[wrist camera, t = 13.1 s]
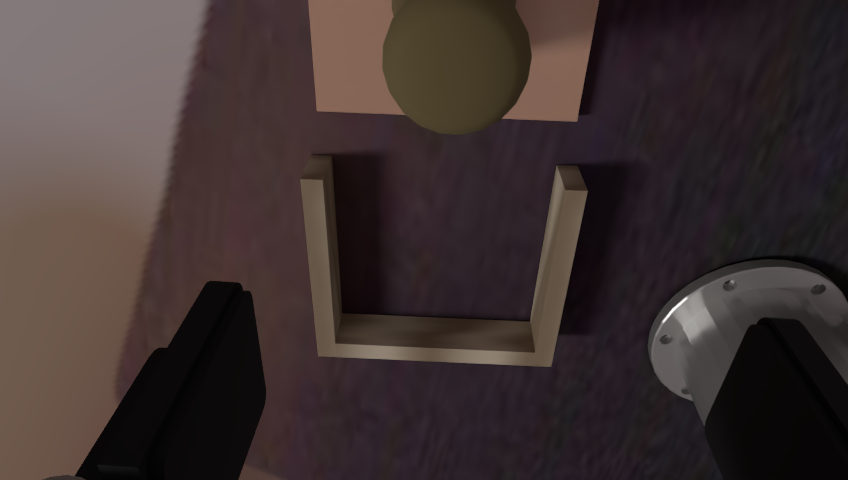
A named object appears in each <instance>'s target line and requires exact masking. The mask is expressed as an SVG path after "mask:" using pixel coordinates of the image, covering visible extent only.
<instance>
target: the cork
mask: <svg viewBox="0 0 848 480" xmlns="http://www.w3.org/2000/svg"><path fill="white" fill-rule="evenodd" d="M515 6H516V0H392V12H393V16H394V17H393V18H392V21H391V24H390V27H389V29H388V32H387V35H386V38H385V41H384V44H383V62H382V69H383V73H384V76H385V79H386V83H387V86H388V90H389V92H390V94H391V95H392V97H393V98H394V100H395V101H396V103H397V104H398V106H399V107H400V109H401V110H402V112H403V113H404V114H406V115H407V116H408V117H409V118H411V119H412V120H413V121H414V122H416V123H417V124H418V125H420V126H422V127H424V128H427V129H430V130H432V131H435V132H437V133H442V134H456V135H463V134H467V133H472V132H476V131H481V130H483V129H485V128H487V127H488V126H490V125H492V124H494V123H496V122H497V121H499V120H501V119H502V118H503V117H504V116H505V115H506V114H507V113H508V112H509V111H510V110H511V109H512V108H513V106H514V105H515V104H516V103H517V101H518V99H519V97H520V95H521V93H522V91H523V89H524V87H525V85H526V83H527V81H528V77H529V71H530V65H531V59H532V53H531V47H530V40H529V34H528V31H527V29H526V27H525V25H524V23H523V21H522V19H521V17H520V16H519V14H518V12H517V10H516V8H515Z"/></svg>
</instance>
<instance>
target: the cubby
mask: <svg viewBox="0 0 848 480" xmlns="http://www.w3.org/2000/svg"><path fill="white" fill-rule="evenodd" d="M300 180H301V190H302V200H303V210H304V220H305V230H306V240H307V250H308V260H309V270H310V280H311V290H312V300H313V310H314V320H315V330H316V339H317V349H318V356H327V357H349V358H371V359H392V360H414V361H436V362H458V363H480V364H501V365H523V366H545V367H551V364H552V360H553V355H554V350H555V345H556V340H557V336H558V331H559V326H560V321H561V317H562V312H563V307H564V302H565V298H566V293H567V288H568V283H569V278H570V274H571V269H572V264H573V259H574V255H575V250H576V245H577V240H578V236H579V231H580V226H581V221H582V216H583V212H584V207H585V202H586V197H587V193H588V190H587V188H586V185H585V183H584V180H583V178H582V176H581V173H580V171H579V168H578V166H570V165H557V166H556V172H555V178H554V183H553V189H552V195H551V201H550V207H549V213H548V219H547V224H546V230H545V236H544V242H543V248H542V254H541V259H540V265H539V271H538V277H537V283H536V289H535V295H534V300H533V306H532V312H531V318H530V322H525V321H503V320H481V319H458V318H436V317H414V316H391V315H369V314H347V313H342V303H341V287H340V272H339V257H338V241H337V226H336V211H335V195H334V180H333V165H332V156H327V155H311V157H310V159H309V161H308V163H307V166H306V168H305V170H304V172H303V174H302V177H301V179H300Z"/></svg>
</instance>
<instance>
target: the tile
mask: <svg viewBox="0 0 848 480" xmlns="http://www.w3.org/2000/svg"><path fill="white" fill-rule="evenodd" d="M308 2H309V15H310V28H311V41H312V54H313V67H314V80H315V93H316V106H317V111H325V112H350V113H375V114H400V115H406V114H404V113H403V112H402V110H401V109H400V107H399V106H398V104H397V103H396V101H395V100H394V98H393V97H392V95H391V94H390V92H389V90H388V86H387V83H386V79H385V76H384V73H383V69H382V62H383V44H384V41H385V38H386V35H387V32H388V29H389V27H390V24H391V21H392V18H393V17H394V16H393V12H392V0H308ZM598 4H599V0H516V6H515V8H516V10H517V12H518V14H519V16H520V17H521V19H522V21H523V23H524V25H525V27H526V29H527V31H528V34H529V40H530V47H531V53H532V59H531V65H530V71H529V77H528V81H527V83H526V85H525V87H524V89H523V91H522V93H521V95H520V97H519V99H518V101H517V103H516V104H515V105H514V106H513V108H512V109H511V110H510V111H509V112H508V113H507V114H506V115H505V116H504V117H503V118H502V119H525V120H550V121H574V122H577V118H578V113H579V108H580V102H581V97H582V91H583V86H584V80H585V75H586V69H587V64H588V59H589V53H590V48H591V42H592V37H593V31H594V26H595V21H596V15H597V10H598Z"/></svg>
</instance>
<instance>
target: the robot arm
mask: <svg viewBox="0 0 848 480" xmlns="http://www.w3.org/2000/svg"><path fill="white" fill-rule="evenodd" d="M648 352H649V358H650V361H651V363H652V366H653V368H654V371H655V373H656V375H657V376H658V378H659V379H660V381H661V382H662V383H663V384H664V385H665V386H666V387H667V388H668V389H669V390H670V391H672V392H674V393H675V394H677V395H679V396H681V397H683V398H686V399H688V400H691V401H693V402H694V404H695V406H696V408H697V411H698V413H699V415H700V417H701V420H702V422H703V424H704V426H705V435H706V439H707V441H708V444H709V446H710V448H711V451H712V453H713V455H714V458H715V460H716V462H717V465H718V467H719V469H720V472H721V474H722V476H723V479H724V480H848V302H847V300H846V298H845V297H844V295H843V293H842V292H841V290H840V289H839V288H838V287H837V286H836V285H835V284H834V283H833V281H832V280H831V279H830V278H828V277H827V276H826V275H824V274H823V273H822V272H820V271H819V270H817V269H814V268H812V267H810V266H808V265H805V264H802V263H797V262H793V261H788V260H773V259H764V260H754V261H746V262H742V263H738V264H734V265H729V266H726V267H723V268H721V269H718V270H716V271H713V272H710V273H708V274H706V275H704V276H702V277H701V278H699V279H697V280H695V281H693V282H692V283H690V284H688V285H687V286H686V287H685V288H683V289H682V290H681V291H679V292H678V293H677V294H675V295H674V296H673V297H672V298H671V299H670V300H669V302H668V303H667V304H666V305H665V306H664V307H663V308H662V310H661V311H660V313H659V314H658V316H657V317H656V319H655V320H654V323H653V325H652V328H651V330H650V333H649V340H648ZM265 399H266V386H265V380H264V373H263V366H262V359H261V353H260V346H259V339H258V333H257V326H256V319H255V312H254V306H253V299H252V294H251V292H250V291H243V288H242V286H241V284H240V283H236V282H221V281H209V282H207V283H206V284H205V286H204V287H203V289H202V291H201V292H200V294H199V296H198V297H197V299H196V301H195V302H194V304H193V306H192V307H191V309H190V311H189V312H188V314H187V316H186V317H185V319H184V321H183V322H182V324H181V326H180V327H179V329H178V331H177V332H176V334H175V336H174V337H173V339H172V341H171V342H170V344H169V346H168V347H167V348H158V349H156V350H155V351H154V352H153V353H152V354H151V355H150V357H149V358H148V360H147V361H146V363H145V364H144V366H143V368H142V369H141V371H140V372H139V374H138V376H137V377H136V379H135V380H134V382H133V384H132V385H131V387H130V388H129V390H128V392H127V393H126V395H125V396H124V398H123V400H122V401H121V403H120V404H119V406H118V408H117V409H116V411H115V412H114V414H113V416H112V417H111V419H110V420H109V422H108V424H107V425H106V427H105V428H104V430H103V432H102V433H101V435H100V436H99V438H98V440H97V441H96V443H95V444H94V446H93V448H92V449H91V451H90V452H89V454H88V456H87V457H86V459H85V460H84V462H83V464H82V465H81V467H80V468H79V470H78V471H77V473H76V475H75V476H70V475H63V476H54V477H49V478H46V479H43V480H238V479H239V476H240V473H241V470H242V468H243V465H244V462H245V459H246V456H247V454H248V451H249V448H250V445H251V442H252V440H253V437H254V434H255V431H256V428H257V426H258V423H259V420H260V417H261V414H262V412H263V409H264V405H265Z"/></svg>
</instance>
